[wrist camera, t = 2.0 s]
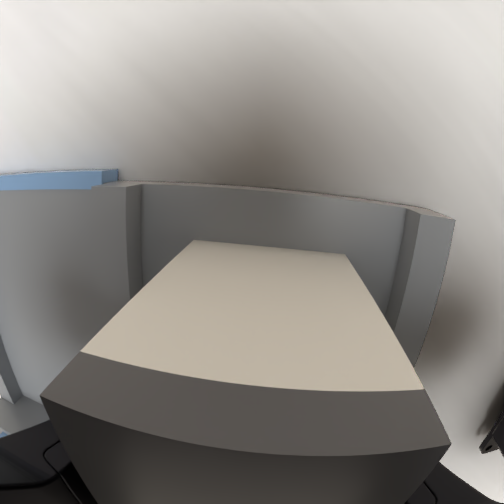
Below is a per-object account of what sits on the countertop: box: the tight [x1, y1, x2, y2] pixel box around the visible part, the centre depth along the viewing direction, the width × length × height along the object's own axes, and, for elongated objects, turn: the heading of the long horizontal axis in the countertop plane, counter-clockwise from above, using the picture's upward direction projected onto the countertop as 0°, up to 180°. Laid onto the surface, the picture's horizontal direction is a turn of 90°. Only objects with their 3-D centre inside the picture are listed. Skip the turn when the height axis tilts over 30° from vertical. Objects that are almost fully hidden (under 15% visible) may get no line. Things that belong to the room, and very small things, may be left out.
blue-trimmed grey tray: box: [0, 169, 455, 438], centre depth 9 cm, size 20×13×6 cm
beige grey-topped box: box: [39, 240, 451, 504], centre depth 7 cm, size 4×7×7 cm, turn 176°
